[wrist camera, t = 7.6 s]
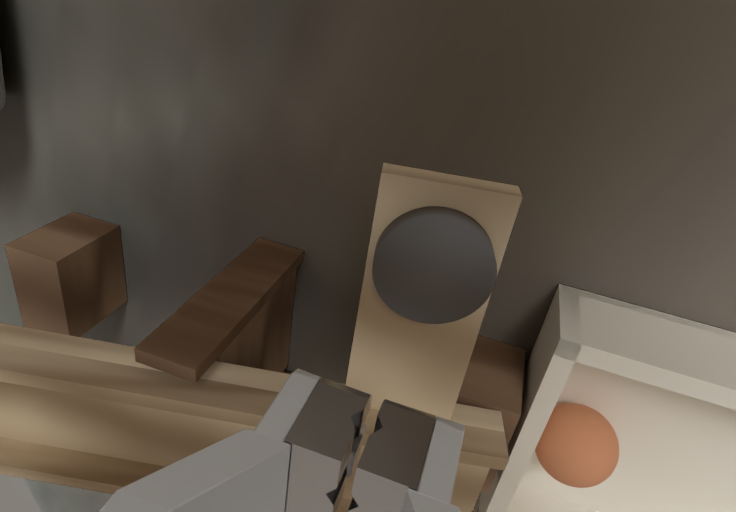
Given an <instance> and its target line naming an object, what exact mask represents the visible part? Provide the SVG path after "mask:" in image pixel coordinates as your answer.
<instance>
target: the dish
mask: <svg viewBox="0 0 736 512" xmlns="http://www.w3.org/2000/svg"><path fill="white" fill-rule="evenodd" d="M566 403H577V404H582V405H585V406H588V407H590V408H592V409H594V410H596V411H598V412H599V413H600V414H601V415H603V416H604V417H605V418H606V419H607V420H608V421H609V423H610V424H611V426H612V427H613V429H614V431H615V433H616V436H617V438H618V442H619V459H618V463H617V466H616V468H615V470H614V471H613V473H612V474H611V475H610V476H609V477H608V478H607V479H606V480H605V481H604V482H602V483H600V484H598V485H596V486H592V487H587V488H577V487H571V486H568V485H565V484H563V483H561V482H559V481H557V480H556V479H554V478H553V477H552V476H550V475H549V474H548V473H547V472H546V471H545V469H544V468H543V467H542V465H541V464H540V462H539V460H538V458H537V455H536V453H535V448H536V446H537V444H538V442H539V440H540V438H541V435H542V433H543V431H544V429H545V427H546V424H547V422H548V420H549V418H550V416H551V414H552V411H553V409H554V407H555V406H557V405H560V404H566ZM507 449H508V455H509V461H508V464H507V466H506V468H505V471H503V470H498V471H497V473H496V476H495V478H494V480H493V483H492V485H491V488H490V490H489V492H488V494H486V493H484V492H481V493H480V501H479V508H478V512H736V333H735V332H731V331H728V330H724V329H720V328H717V327H713V326H710V325H706V324H702V323H699V322H695V321H692V320H688V319H684V318H681V317H677V316H674V315H670V314H666V313H663V312H659V311H656V310H652V309H648V308H645V307H641V306H638V305H634V304H630V303H627V302H623V301H620V300H616V299H612V298H609V297H605V296H602V295H598V294H594V293H591V292H587V291H584V290H580V289H576V288H573V287H569V286H566V285H562V284H559V285H558V287H557V290H556V292H555V295H554V297H553V300H552V302H551V305H550V307H549V310H548V312H547V315H546V317H545V320H544V322H543V325H542V328H541V330H540V333H539V335H538V338H537V340H536V343H535V345H534V348H533V350H532V353H531V355H530V358H529V360H528V363H527V365H526V368H525V370H524V378H523V392H522V407H521V416H520V418H519V421H518V423H517V426H516V428H515V430H514V433H513V435H512V437H511V440H510V442H509V445H508V447H507Z"/></svg>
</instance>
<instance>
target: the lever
mask: <svg viewBox="0 0 736 512" xmlns="http://www.w3.org/2000/svg"><path fill="white" fill-rule="evenodd" d="M522 197H523V196H522V194H521V192H520V189H519V187H518V186H515V185H510V184H504V183H498V182H492V181H487V180H481V179H475V178H469V177H463V176H458V175H452V174H446V173H440V172H435V171H429V170H423V169H417V168H411V167H406V166H400V165H394V164H388V163H383V167H382V172H381V178H380V184H379V190H378V196H377V202H376V208H375V214H374V220H373V225H372V231H371V237H370V243H369V249H368V255H367V261H366V267H365V273H364V279H363V285H362V290H361V296H360V302H359V308H358V314H357V320H356V326H355V332H354V338H353V344H352V349H351V355H350V361H349V367H348V373H347V379H346V384H343V383H340V384H343V385H346V386H349V387H351V388H354V389H357V390H359V391H362V392H365V393H368V394H370V395H372V400H371V406H370V410H369V413H368V415H367V418H366V420H365V424H366V431H365V435H364V439H363V443H362V446H361V449H360V452H359V455H358V458H357V461H356V464H355V467H354V469H353V472H352V474H351V476H349V477H347V478H346V482H345V487H344V492H343V497H342V499H341V501H340V504H339V506H338V509H337V511H336V512H348V509H349V506H350V503H351V501H352V498H353V496H352V495H351V492H352V487H353V483H354V478H355V473H356V469H357V465H358V463H359V460H360V458H361V455H362V453H363V450H364V448H365V445H366V442H367V440H368V437H369V435H370V434H372V433H373V432H374V428H375V423H376V419H377V415H378V412H379V410H380V407H381V405H382V403H383V401H384V400H385V399H387V400H390V401H393V402H396V403H399V404H402V405H405V406H408V407H411V408H414V409H417V410H420V411H423V412H426V413H429V414H432V415H435V416H436V418H437V416H438V417H441V418H444V419H447V420H450V421H453V422H456V423H459V424H462V425H464V429H465V431H464V436H463V442H462V447H461V452H460V457H459V462H458V467H457V472H456V478H455V483H454V488H453V493H452V498H451V503H450V504H452V505H455V506H457V507H459V509H460V511H461V512H472V511H473V509H474V506H475V504H476V501H477V499H478V496H479V494H480V492H481V489H482V487H483V484H484V482H485V479H486V477H487V474H488V472H489V469H490V468H492V469H498V470H503V471H505V468H506V466H507V464H508V461H509V455H508V449H507V443H506V437H505V431H504V426H503V420H502V414H501V411H496V410H490V409H485V408H479V407H473V406H468V405H462V404H456V401H457V398H458V395H459V392H460V389H461V386H462V383H463V380H464V377H465V373H466V370H467V367H468V364H469V361H470V358H471V355H472V352H473V349H474V346H475V343H476V339H477V336H478V333H479V330H480V327H481V324H482V321H483V318H484V315H485V312H486V309H487V305H488V302H489V299H490V296H491V293H492V291H493V289H494V286H495V283H496V279H497V275H498V271H499V268H500V265H501V262H502V259H503V256H504V253H505V250H506V247H507V244H508V241H509V237H510V234H511V231H512V228H513V225H514V222H515V219H516V216H517V213H518V210H519V207H520V204H521V200H522ZM134 348H135V347H133V346H127V345H122V344H116V343H110V342H105V341H99V340H93V339H88V338H82V337H76V336H71V335H65V334H59V333H54V332H48V331H42V330H37V329H31V328H25V327H20V326H14V325H8V324H3V323H0V474H4V475H10V476H14V477H20V478H25V479H31V480H37V481H42V482H48V483H53V484H59V485H65V486H70V487H76V488H82V489H87V490H93V491H98V492H104V493H110V494H114V493H115V492H116V491H117V490H118V489H120V488H122V487H125V486H127V485H129V484H131V483H133V482H135V481H137V480H139V479H141V478H143V477H145V476H148V475H150V474H152V473H154V472H156V471H158V470H160V469H162V468H164V467H166V466H168V465H171V464H173V463H175V462H177V461H179V460H181V459H183V458H185V457H187V456H189V455H191V454H194V453H196V452H198V451H200V450H202V449H204V448H206V447H208V446H210V445H212V444H214V443H217V442H219V441H221V440H223V439H225V438H227V437H229V436H231V435H233V434H235V433H237V432H240V431H242V430H244V429H246V428H247V429H250V430H253V431H254V430H255V428H256V427H257V425H258V424H259V422H260V421H261V419H262V417H263V416H264V414H265V413H266V411H267V410H268V408H269V407H270V405H271V404H272V402H273V401H274V399H275V398H276V396H277V395H278V393H279V392H280V390H281V388H282V387H283V385H284V384H285V382H286V381H287V379H288V378H289V376H290V375H291V374H286V373H280V372H275V371H269V370H263V369H258V368H252V367H246V366H241V365H235V364H229V363H224V362H218V361H215V362H214V363H213V364H212V365H211V366H210V367H209V368H208V370H207V371H206V372H205V373H204V374H203V375H202V376H201V378H200V379H199V380H198V381H197V382H196V383H194V382H191V381H188V380H186V379H183V378H180V377H177V376H174V375H172V374H169V373H166V372H163V371H161V370H158V369H155V368H152V367H149V366H147V365H144V364H141V363H138V362H135V352H134Z"/></svg>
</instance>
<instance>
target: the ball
mask: <svg viewBox="0 0 736 512" xmlns="http://www.w3.org/2000/svg"><path fill="white" fill-rule="evenodd" d="M535 453H536V455H537V458H538V460H539V462H540V464H541V465H542V467H543V468H544V469H545V471H546V472H547V473H548V474H549V475H550V476H552V477H553V478H554V479H556V480H557V481H559V482H561V483H563V484H565V485H568V486H571V487H577V488H587V487H592V486H596V485H598V484H600V483H602V482H604V481H605V480H606V479H607V478H608V477H609V476H610V475H611V474H612V473H613V471H614V470H615V468H616V466H617V463H618V459H619V442H618V438H617V436H616V433H615V431H614V429H613V427H612V426H611V424H610V423H609V421H608V420H607V419H606V418H605V417H604V416H603V415H601V414H600V413H599V412H598V411H596V410H594V409H592V408H590V407H588V406H585V405H582V404H577V403H566V404H560V405H557V406H555V407H554V409H553V411H552V414H551V416H550V418H549V420H548V422H547V424H546V427H545V429H544V431H543V433H542V435H541V438H540V440H539V442H538V444H537V446H536V448H535Z"/></svg>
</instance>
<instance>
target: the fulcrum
mask: <svg viewBox="0 0 736 512" xmlns="http://www.w3.org/2000/svg"><path fill="white" fill-rule="evenodd" d="M5 250H6V254H7V258H8V262H9V266H10V271H11V275H12V279H13V283H14V287H15V292H16V296H17V300H18V304H19V308H20V312H21V317H22V321H23V325H24V327H27V328H31V329H37V330H42V331H48V332H54V333H59V334H65V335H71V336H76V337H80V336H81V335H83V334H84V333H85V332H87V331H88V330H89V329H91V328H92V327H93V326H95V325H96V324H97V323H99V322H100V321H101V320H103V319H104V318H105V317H106V316H108V315H109V314H110V313H112V312H113V311H114V310H116V309H117V308H118V307H120V306H121V305H122V304H124V303H125V302H126V301H128V300H127V290H126V281H125V272H124V263H123V253H122V244H121V235H120V226H118V225H115V224H112V223H108V222H105V221H102V220H98V219H95V218H92V217H89V216H85V215H82V214H79V213H76V212H72V213H70V214H68V215H66V216H64V217H61V218H59V219H57V220H55V221H53V222H51V223H49V224H47V225H45V226H43V227H41V228H39V229H37V230H35V231H33V232H31V233H29V234H27V235H24V236H22V237H20V238H18V239H16V240H14V241H12V242H10V243H8V244H6V245H5ZM303 256H304V250H300V249H297V248H293V247H290V246H287V245H283V244H280V243H276V242H273V241H270V240H266V239H263V238H258V239H257V240H256V241H255V242H254V243H253V244H252V245H250V246H249V247H248V248H247V249H246V250H245V251H244V252H243V253H241V254H240V255H239V256H238V257H237V258H236V259H235V260H233V261H232V262H231V263H230V264H229V265H228V266H227V267H226V268H224V269H223V270H222V271H221V272H220V273H219V274H218V275H217V276H215V277H214V278H213V279H212V280H211V281H210V282H209V283H208V284H206V285H205V286H204V287H203V288H202V289H201V290H200V291H198V292H197V293H196V294H195V295H194V296H193V297H192V298H191V299H189V300H188V301H187V302H186V303H185V304H184V305H183V306H182V307H180V308H179V309H178V310H177V311H176V312H175V313H174V314H173V315H171V316H170V317H169V318H168V319H167V320H166V321H165V322H163V323H162V324H161V325H160V326H159V327H158V328H157V329H156V330H154V331H153V332H152V333H151V334H150V335H149V336H148V337H147V338H145V339H144V340H143V341H142V342H141V343H140V344H139V345H138V346H136V347H135V348H134V352H135V362H138V363H141V364H144V365H147V366H149V367H152V368H155V369H158V370H161V371H163V372H166V373H169V374H172V375H174V376H177V377H180V378H183V379H186V380H188V381H191V382H194V383H196V382H197V381H198V380H199V379H200V378H201V376H202V375H203V374H204V373H205V372H206V371H207V370H208V368H209V367H210V366H211V365H212V364H213V363H214V362H215V361H218V362H224V363H229V364H235V365H241V366H246V367H252V368H258V369H263V370H269V371H275V372H280V373H286V374H291V373H292V372H290V371H287V370H285V369H286V367H287V366H288V358H289V347H290V336H291V325H292V314H293V303H294V292H295V281H296V270H297V267H298V266H299V265H300V264H301V263H302V262H303ZM524 363H525V349H522V348H519V347H515V346H512V345H509V344H506V343H502V342H499V341H496V340H492V339H489V338H486V337H483V336H479V335H478V336H477V339H476V343H475V346H474V349H473V352H472V355H471V358H470V361H469V364H468V367H467V370H466V373H465V377H464V380H463V383H462V386H461V389H460V392H459V395H458V398H457V401H456V404H462V405H468V406H473V407H479V408H485V409H490V410H496V411H501V414H502V420H503V426H504V431H505V437H506V443H507V447H508V445H509V442H510V440H511V437H512V435H513V433H514V430H515V428H516V426H517V423H518V421H519V418H520V416H521V407H522V392H523V378H524ZM497 471H498V469H492V468H490V469H489V472H488V474H487V477H486V479H485V482H484V484H483V487H482V489H481V492H484V493H486V494H488V492H489V490H490V488H491V485H492V483H493V480H494V478H495V476H496V473H497Z"/></svg>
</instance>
